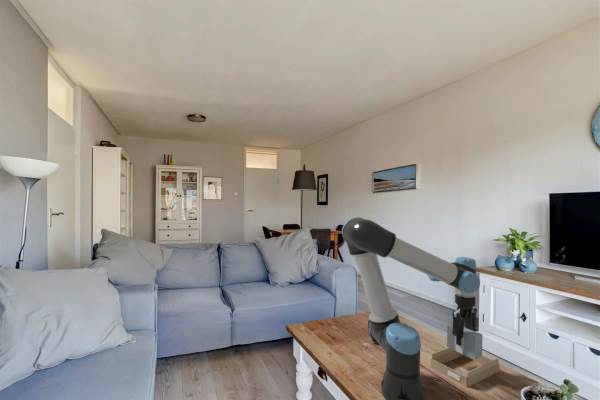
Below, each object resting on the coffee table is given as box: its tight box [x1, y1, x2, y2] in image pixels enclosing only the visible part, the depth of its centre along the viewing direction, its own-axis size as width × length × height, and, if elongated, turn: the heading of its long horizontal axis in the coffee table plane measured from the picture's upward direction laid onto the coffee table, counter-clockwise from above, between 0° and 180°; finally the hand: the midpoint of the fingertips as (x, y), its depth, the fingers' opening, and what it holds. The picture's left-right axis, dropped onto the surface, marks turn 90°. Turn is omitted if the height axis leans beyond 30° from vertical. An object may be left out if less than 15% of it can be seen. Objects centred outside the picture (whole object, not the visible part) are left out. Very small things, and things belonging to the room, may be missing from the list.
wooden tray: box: [430, 347, 500, 388], centre depth 125 cm, size 22×16×6 cm
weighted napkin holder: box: [446, 323, 483, 360], centre depth 125 cm, size 5×12×9 cm, turn 29°
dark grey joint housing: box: [367, 316, 379, 344], centre depth 156 cm, size 16×10×10 cm, turn 177°
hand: (464, 350), depth 125 cm, fingers closed on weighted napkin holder, 5 cm apart
